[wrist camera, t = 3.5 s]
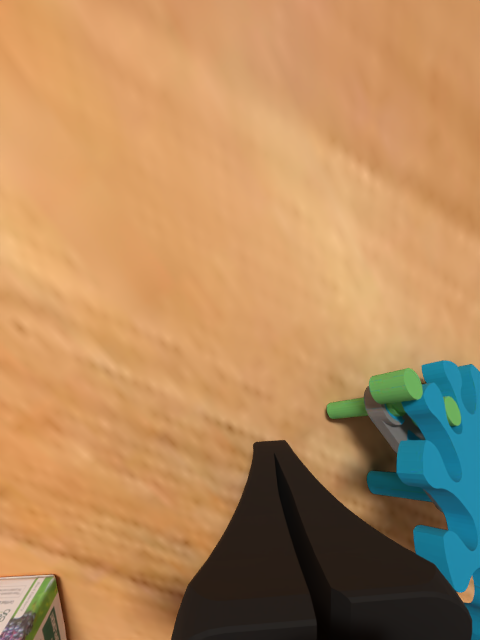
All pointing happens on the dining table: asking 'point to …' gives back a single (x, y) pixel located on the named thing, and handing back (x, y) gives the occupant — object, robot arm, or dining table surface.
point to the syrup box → (30, 609)
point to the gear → (432, 460)
